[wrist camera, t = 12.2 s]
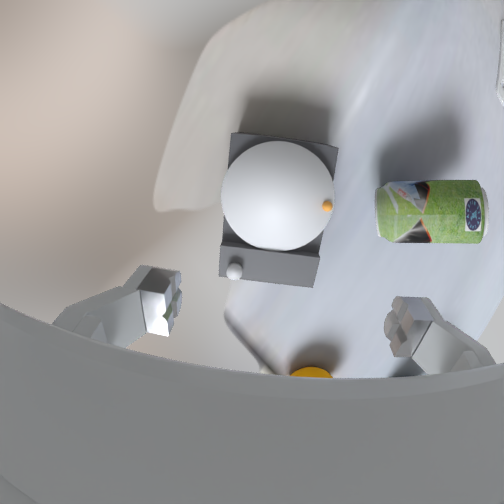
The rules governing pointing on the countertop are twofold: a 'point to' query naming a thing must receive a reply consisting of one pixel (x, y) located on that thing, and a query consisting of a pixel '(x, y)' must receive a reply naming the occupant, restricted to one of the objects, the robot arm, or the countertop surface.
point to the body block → (275, 208)
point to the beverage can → (432, 211)
